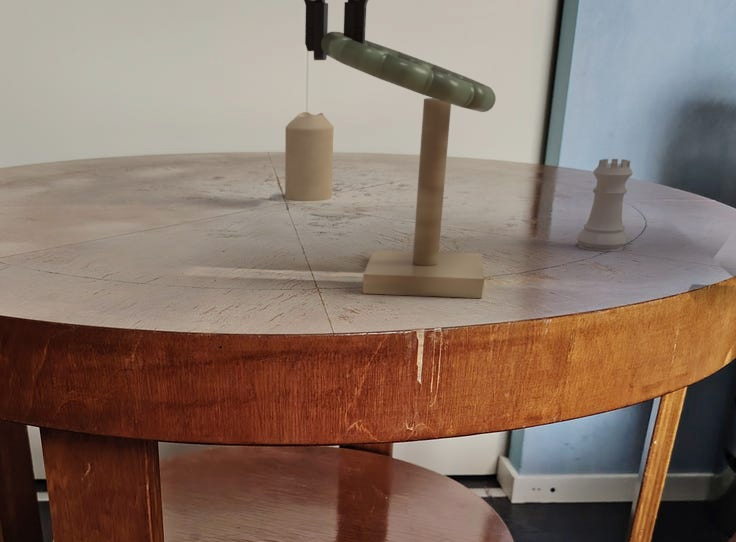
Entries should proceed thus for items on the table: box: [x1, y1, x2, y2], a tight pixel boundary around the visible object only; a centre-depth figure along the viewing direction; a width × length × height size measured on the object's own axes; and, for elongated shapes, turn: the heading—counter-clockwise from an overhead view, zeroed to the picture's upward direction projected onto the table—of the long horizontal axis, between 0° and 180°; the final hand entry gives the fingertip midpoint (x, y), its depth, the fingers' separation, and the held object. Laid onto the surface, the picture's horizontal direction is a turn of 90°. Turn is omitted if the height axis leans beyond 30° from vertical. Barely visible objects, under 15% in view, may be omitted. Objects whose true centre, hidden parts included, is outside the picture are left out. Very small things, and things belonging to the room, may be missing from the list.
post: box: [362, 97, 485, 299], centre depth 69 cm, size 9×9×14 cm
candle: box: [284, 111, 334, 202], centre depth 105 cm, size 6×6×10 cm
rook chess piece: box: [576, 158, 634, 252], centre depth 79 cm, size 4×4×8 cm
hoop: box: [321, 31, 497, 113], centre depth 66 cm, size 13×13×2 cm
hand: (335, 58), depth 66 cm, fingers closed on hoop, 1 cm apart
